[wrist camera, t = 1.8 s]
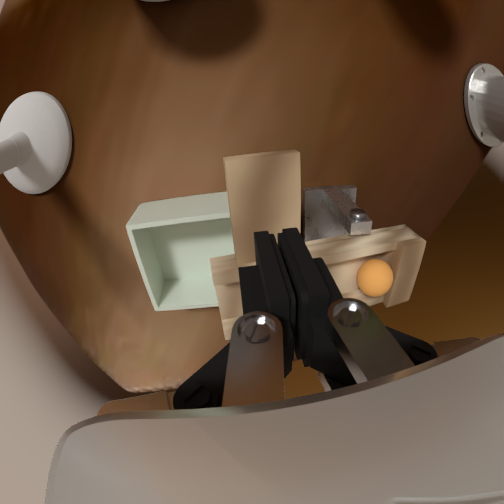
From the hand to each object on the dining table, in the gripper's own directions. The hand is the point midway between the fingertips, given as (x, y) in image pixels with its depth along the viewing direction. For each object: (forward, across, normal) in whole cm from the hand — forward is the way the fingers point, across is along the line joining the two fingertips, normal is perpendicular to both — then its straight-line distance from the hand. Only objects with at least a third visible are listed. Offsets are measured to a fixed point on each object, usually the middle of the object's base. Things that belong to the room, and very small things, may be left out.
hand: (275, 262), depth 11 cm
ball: (+9, -11, +9) cm, 17 cm away
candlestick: (+20, +25, -7) cm, 33 cm away
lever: (+11, -6, +5) cm, 13 cm away
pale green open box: (+20, +5, +9) cm, 22 cm away
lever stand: (+19, -9, +9) cm, 23 cm away
